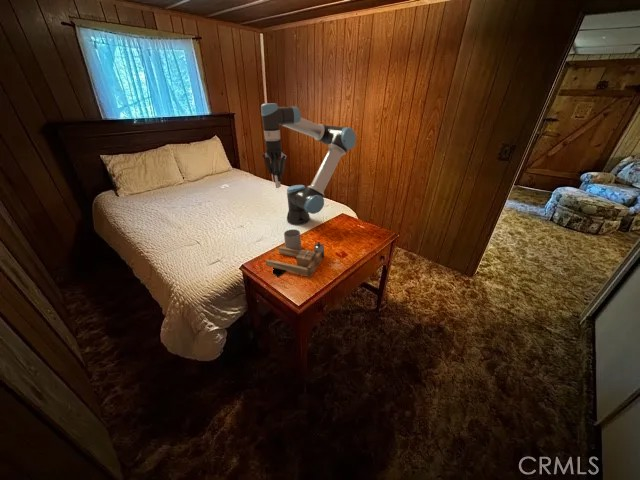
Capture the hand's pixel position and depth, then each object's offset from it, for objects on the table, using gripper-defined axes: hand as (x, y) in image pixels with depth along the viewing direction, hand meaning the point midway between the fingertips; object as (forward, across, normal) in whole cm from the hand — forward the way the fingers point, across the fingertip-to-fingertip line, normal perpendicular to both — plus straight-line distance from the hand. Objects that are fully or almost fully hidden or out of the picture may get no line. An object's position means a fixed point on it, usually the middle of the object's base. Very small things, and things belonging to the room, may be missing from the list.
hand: (278, 187), depth 134 cm
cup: (+31, +11, -10) cm, 34 cm away
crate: (+31, +24, -22) cm, 45 cm away
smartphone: (+31, +9, -29) cm, 43 cm away
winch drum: (+30, +27, -12) cm, 42 cm away
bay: (+30, +17, -22) cm, 41 cm away
